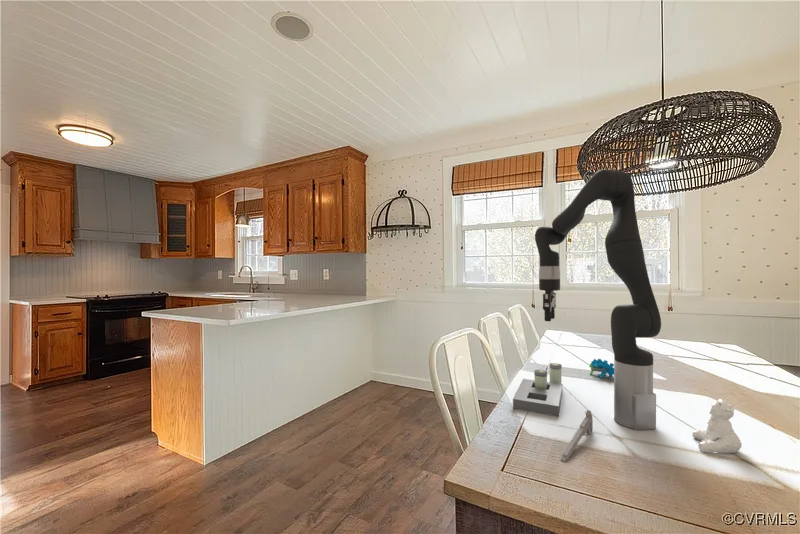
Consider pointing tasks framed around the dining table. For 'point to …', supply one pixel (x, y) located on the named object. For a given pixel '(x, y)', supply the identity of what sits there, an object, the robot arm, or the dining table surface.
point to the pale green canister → (555, 372)
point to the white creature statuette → (719, 431)
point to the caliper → (579, 435)
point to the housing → (538, 395)
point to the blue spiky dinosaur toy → (601, 367)
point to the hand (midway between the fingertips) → (549, 319)
